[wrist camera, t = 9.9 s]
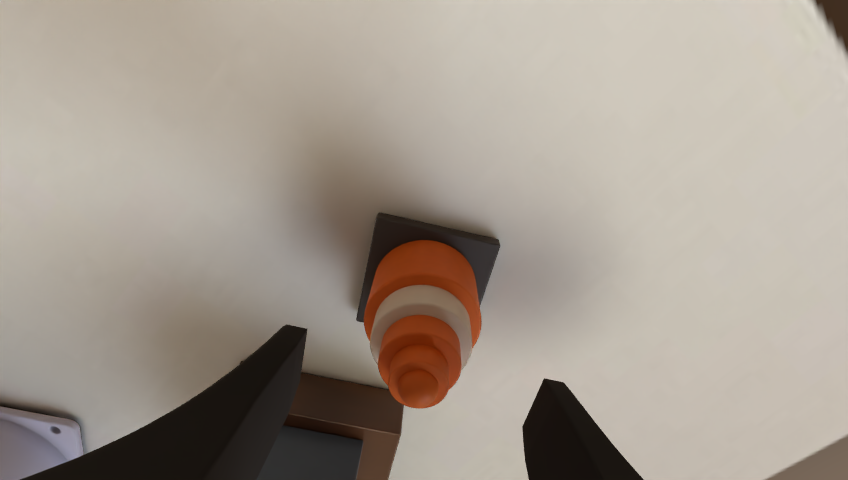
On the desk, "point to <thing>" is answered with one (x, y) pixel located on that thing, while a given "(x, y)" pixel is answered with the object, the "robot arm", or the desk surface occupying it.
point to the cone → (423, 304)
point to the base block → (351, 419)
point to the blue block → (311, 456)
